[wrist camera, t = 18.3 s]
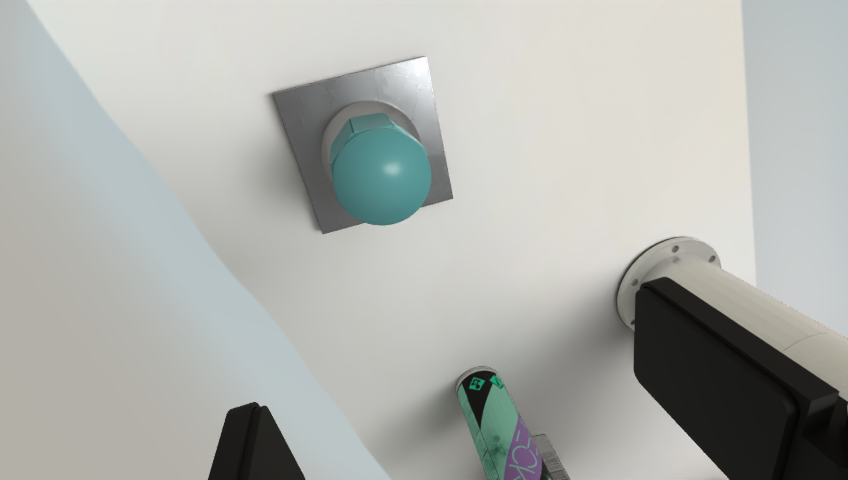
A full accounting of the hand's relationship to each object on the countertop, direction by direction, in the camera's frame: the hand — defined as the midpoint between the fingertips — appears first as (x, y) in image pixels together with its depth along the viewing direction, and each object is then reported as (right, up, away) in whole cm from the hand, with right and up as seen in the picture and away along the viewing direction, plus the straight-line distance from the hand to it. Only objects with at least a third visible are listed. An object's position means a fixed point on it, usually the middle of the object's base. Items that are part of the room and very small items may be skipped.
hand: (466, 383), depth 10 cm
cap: (-5, +10, +23) cm, 26 cm away
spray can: (+5, -13, +39) cm, 42 cm away
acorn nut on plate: (-6, +11, +25) cm, 28 cm away
